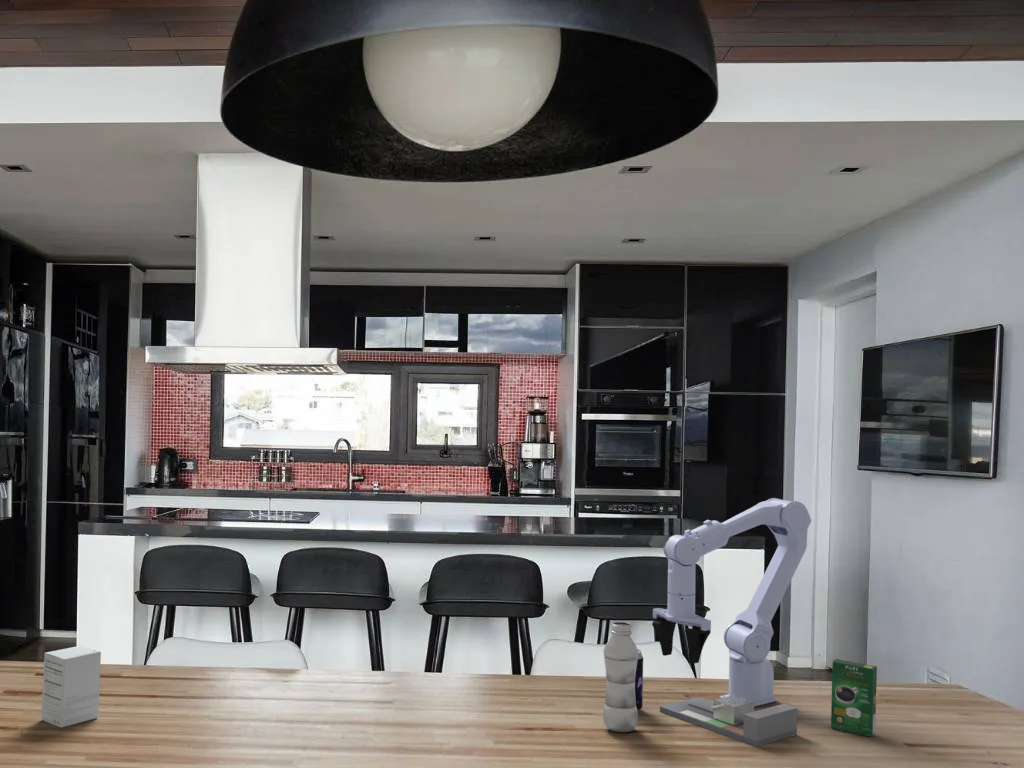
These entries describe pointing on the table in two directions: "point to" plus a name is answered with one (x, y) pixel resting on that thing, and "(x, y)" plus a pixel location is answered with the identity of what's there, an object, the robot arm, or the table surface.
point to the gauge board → (753, 731)
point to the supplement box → (71, 686)
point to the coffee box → (853, 697)
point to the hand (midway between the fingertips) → (680, 658)
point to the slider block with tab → (732, 709)
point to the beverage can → (639, 681)
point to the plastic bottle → (620, 680)
